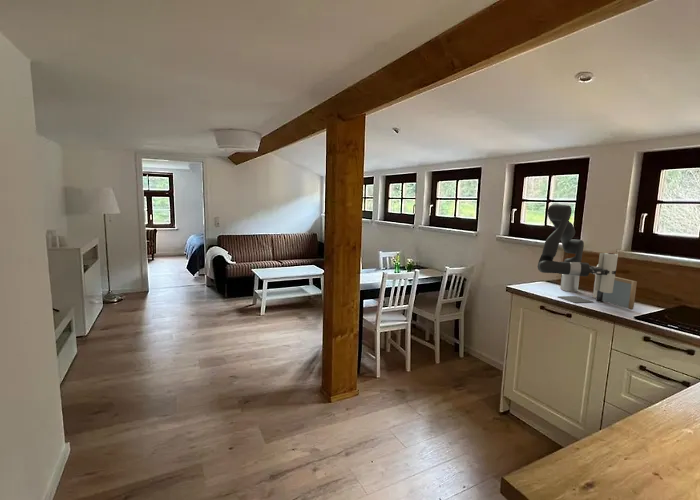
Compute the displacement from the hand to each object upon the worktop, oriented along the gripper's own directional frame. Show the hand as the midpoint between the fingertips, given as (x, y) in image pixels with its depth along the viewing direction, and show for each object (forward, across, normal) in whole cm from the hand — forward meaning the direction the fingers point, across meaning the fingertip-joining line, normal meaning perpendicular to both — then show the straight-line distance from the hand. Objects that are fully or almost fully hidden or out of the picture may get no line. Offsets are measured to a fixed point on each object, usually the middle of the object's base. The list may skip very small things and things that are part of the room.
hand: (613, 271), depth 202 cm
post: (-1, +12, +20) cm, 23 cm away
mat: (-14, +10, +20) cm, 26 cm away
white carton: (-3, 0, +12) cm, 12 cm away
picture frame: (+5, +3, +19) cm, 20 cm away
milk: (+2, +22, +20) cm, 30 cm away
